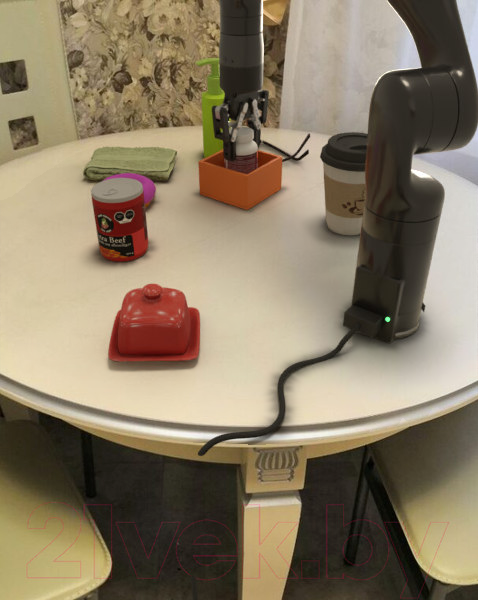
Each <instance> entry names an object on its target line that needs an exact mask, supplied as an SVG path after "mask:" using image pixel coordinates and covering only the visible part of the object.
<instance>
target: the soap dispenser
mask: <svg viewBox="0 0 478 600" xmlns="http://www.w3.org/2000/svg"><path fill="white" fill-rule="evenodd" d="M194 64H195V65H196V66H198V67H203V66H208V65H210V74H209V75H207V76H206V87H207V88H206V89H207V90H206V91H204V92H202V93H201V95H200V96H201V118H202V120H201V121H202V122H201V123H202V145H203V146H202V147H203V149H202V150H203V158H207V157H209V156H211V155H213V154H215V153H217V152H219V151H221V150H223V140H220V139H216V138H215V137H214V127H213V118H212V107H213V106H214V105H215V106H220V105H222V104H223V100H224V96H225V93H224V91H223V90H222V89H221V88H220V80H219V57H209V58H208V57H207V58H202V59H200V60H198V61H195V62H194ZM231 121H232V120H231V119H229V122H231ZM231 123H232V122H231ZM231 128H232V127H230V128H229V129H231ZM220 132H222V128H220Z"/></svg>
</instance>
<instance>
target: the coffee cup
mask: <svg viewBox="0 0 478 600" xmlns="http://www.w3.org/2000/svg"><path fill="white" fill-rule="evenodd" d="M367 135H368V133H366V132H358V131H357V132H355V131H351V132H350V131H347V132H340V133H336V134H333V135H332V136H330V137H329V138H328V139H327V143H326V144H325V145H324V146H322V148H321V151H320V155H319V158H320V160H321V162H322V164H323V166H322V167H323V185H324V186H323V188H324V207H325V222H326V225H327V228H328V229H329V230H330V231H331V232H333V233H335V234H337V235H342V236H359V235H360V233H361V225H362V218H363V210H364V203H365V194H366V185H365V161H366V150H367Z"/></svg>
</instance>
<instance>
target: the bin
mask: <svg viewBox="0 0 478 600" xmlns="http://www.w3.org/2000/svg"><path fill="white" fill-rule="evenodd" d="M282 159H284V158H283V155H278V154H276V153H275V154H274V153H272V152H267V151H264V150H260V149H258V169H256V170H254V171H252V172H250V173H249V174H243V173H240V172H237V171H233V170H230V169H227V168H225V160H224V156H223V150H221V151H219V152H217V153H215V154H213V155H211V156H209V157H207V158H205V157H203V159H201V160H199V161H198V162H197V163H198V184H199V185H198V187H199V195H201V196H204V197H207V198H209V199H212V200H216V201H219V202H222V203H225V204H227V205H231V206H233V207H237V208H239V209H242V210H244V211H245V210H246V211H249V210H251V208H253V207H255V206H256V205H259V203H261V202H263V201H264V200H266V199H267V198H269V197H270V196H272V195H275V193H277V192H279V191H281V190H282V181H283V180H282V179H283V162H282Z"/></svg>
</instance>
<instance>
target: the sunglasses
mask: <svg viewBox="0 0 478 600" xmlns="http://www.w3.org/2000/svg"><path fill="white" fill-rule="evenodd" d="M261 129H262V128H260V129H259V130H258V146H260V145H261V144H263V145H265V146H267V147H269V148H271V149H273V150H275V151H277V152H278V153H280V154H282V155H284V156H286V157H285V158H283V159H282V163H285V162H287V161H290V160H293V161H295V162H299V161H301V160H303V159H304V158H306V156H308V155H309V153H310V149H306V150H305V151H304V152H303V153H302V154H301V155H300V156H299V157H297V155H299V153H300V152H301V151H302V149H303V148H304V147H305V145H306V144H307V142H308V141H309V140H310V138H311V133H307V135H306V137H305V139H304V140H303V141H302V143H301V144H300V146H299V147H298V149H297V150H296V151H295V152H294V153H293V154H292V155H291V154H290V153H288V152H286V151H285V150H283V149H281V148H279V147H277V146H276V145H273V144H272V143H270V142H267V140H264V139H263V140H262V139H261V136H262V134H261V133H262V130H261Z"/></svg>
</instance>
